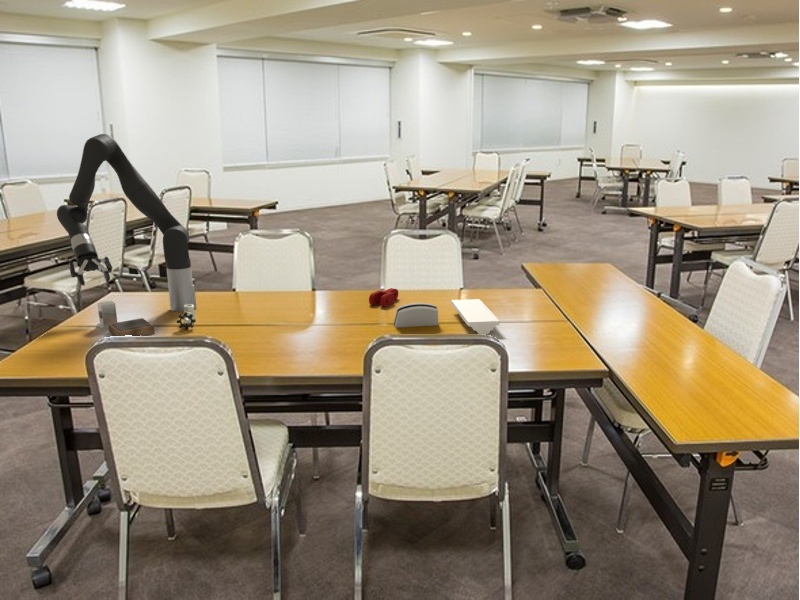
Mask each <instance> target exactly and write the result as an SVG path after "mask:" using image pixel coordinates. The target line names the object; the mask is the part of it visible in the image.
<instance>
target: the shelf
mask: <svg viewBox="0 0 800 600" xmlns="http://www.w3.org/2000/svg"><path fill="white" fill-rule="evenodd" d="M450 301H451V302H450V303H451V305H452V307H453V308H454V309H455V311H456V312H457V314H458V315H459V316H460V317H461V319H462V320H463V322H465V324H466V325H467V326H468V327H471V329H472V330H473V331H474V332H475V331H476V332H477V334H478V335H479V334H487V335H489V333H490V332H491V331H493V330H494V329H495V327H496V326H497V327H498V326H500V322H501V321H500V319H499V318H498V317H497V316H496V315H495V314H494V313H493V312H492V311H491V310H490V309H489V308H488V307H487V306H486V304H485V303H484V302H483V301H482V300H481V299H480V298H472V299H450Z"/></svg>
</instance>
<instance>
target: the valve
mask: <svg viewBox="0 0 800 600" xmlns="http://www.w3.org/2000/svg"><path fill="white" fill-rule="evenodd" d="M178 318H179V319H177V320H176V324H180V325H179V326H178V327H179V329H183V328H184V329H185V331H187V330H189V327H190V328H191V329H193V328H194V326H195V324H193V323H196V319H195V318H196V311H195V309H194V305H192V304H187V305H184V311H183V315H182V314H179V315H178ZM182 320H183V322H182Z"/></svg>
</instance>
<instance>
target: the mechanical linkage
mask: <svg viewBox="0 0 800 600" xmlns="http://www.w3.org/2000/svg"><path fill="white" fill-rule="evenodd" d="M398 297H399V290H398V289H397V288H392V287H391V288H388V289H386V290H376V291H374V292H371V293H370V295H369V297H368V303H369V305H370V306H376V305H377V306H378V305H380V307H382V308H387V307H390V306H392V305H394V303H395V301H396V300H398Z"/></svg>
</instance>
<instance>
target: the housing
mask: <svg viewBox="0 0 800 600" xmlns="http://www.w3.org/2000/svg"><path fill="white" fill-rule="evenodd" d="M96 303H97V311H98V319H99V323H96V326H97V327H98V328H99V329H100V330H101V331H106V330H108V331H109V328H108V324H112V323H118V322H119V321H118V317H117V309H116V308H117V307H116V303H115V302H114V301H112V300H108V301H102V302H101V301H100V302H96Z"/></svg>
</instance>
